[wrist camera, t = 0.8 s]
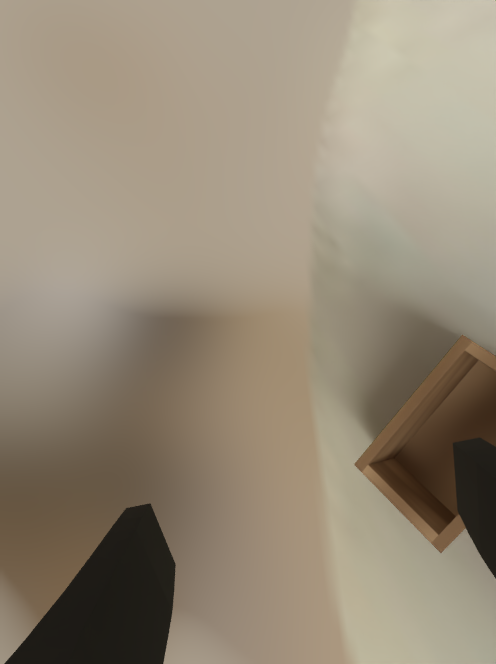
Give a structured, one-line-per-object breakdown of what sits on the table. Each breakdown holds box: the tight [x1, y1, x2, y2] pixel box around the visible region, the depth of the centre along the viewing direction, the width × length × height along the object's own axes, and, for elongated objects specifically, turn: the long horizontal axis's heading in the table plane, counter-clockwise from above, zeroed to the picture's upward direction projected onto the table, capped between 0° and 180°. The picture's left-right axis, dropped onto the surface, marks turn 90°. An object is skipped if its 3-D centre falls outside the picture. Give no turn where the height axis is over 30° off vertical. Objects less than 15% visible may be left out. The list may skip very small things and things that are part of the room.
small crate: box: [354, 335, 496, 553], centre depth 20 cm, size 5×8×4 cm, turn 138°
